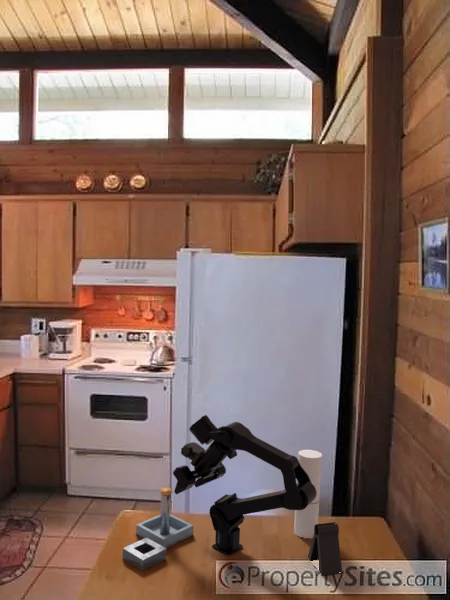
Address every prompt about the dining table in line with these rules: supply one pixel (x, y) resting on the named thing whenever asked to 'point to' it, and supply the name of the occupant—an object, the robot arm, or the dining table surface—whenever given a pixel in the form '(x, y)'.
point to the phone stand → (326, 548)
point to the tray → (177, 534)
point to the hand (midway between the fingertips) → (185, 489)
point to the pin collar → (141, 560)
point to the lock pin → (165, 511)
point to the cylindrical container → (309, 515)
